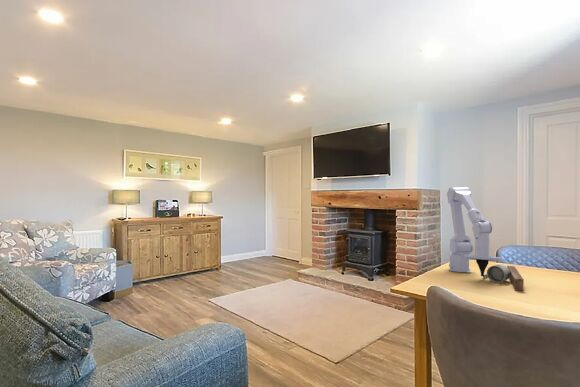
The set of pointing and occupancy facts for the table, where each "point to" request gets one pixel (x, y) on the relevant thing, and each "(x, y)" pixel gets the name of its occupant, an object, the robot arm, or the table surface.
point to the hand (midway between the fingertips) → (482, 275)
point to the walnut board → (516, 279)
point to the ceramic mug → (497, 273)
